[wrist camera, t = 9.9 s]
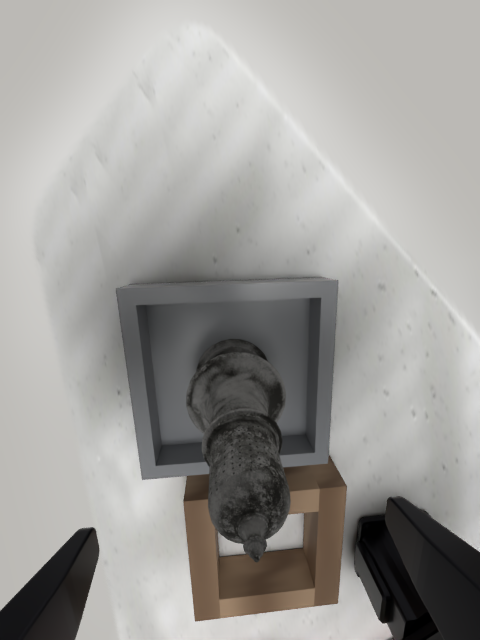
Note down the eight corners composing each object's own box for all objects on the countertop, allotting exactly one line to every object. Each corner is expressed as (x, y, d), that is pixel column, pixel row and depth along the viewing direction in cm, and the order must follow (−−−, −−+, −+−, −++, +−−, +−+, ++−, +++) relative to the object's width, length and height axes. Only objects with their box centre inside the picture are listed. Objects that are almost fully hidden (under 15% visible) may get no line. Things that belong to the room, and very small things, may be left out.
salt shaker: (174, 365, 18) (98, 552, 7) (244, 318, 18) (291, 429, 6) (223, 425, 20) (230, 665, 8) (289, 382, 19) (395, 569, 8)
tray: (321, 277, 18) (338, 280, 16) (315, 439, 21) (328, 463, 19) (130, 284, 17) (115, 288, 15) (151, 452, 20) (142, 479, 18)
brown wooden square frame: (329, 455, 22) (346, 486, 19) (323, 562, 25) (337, 603, 22) (188, 467, 21) (183, 501, 18) (197, 576, 24) (195, 621, 21)
